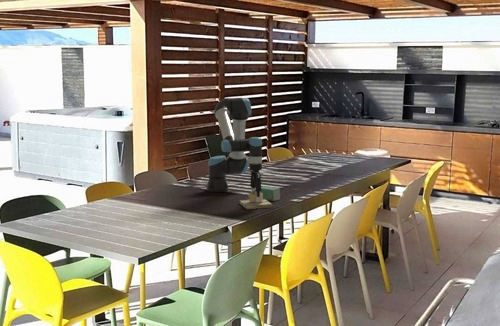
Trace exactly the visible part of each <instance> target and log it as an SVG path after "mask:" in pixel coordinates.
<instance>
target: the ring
mask: <svg viewBox="0 0 500 326" xmlns="http://www.w3.org/2000/svg"><path fill="white" fill-rule="evenodd" d="M248 200H249V201H250V202H255V194H253V192H252V191H251V192H249V193H248ZM261 201H263V193H260V202H261Z"/></svg>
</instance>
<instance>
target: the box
mask: <svg viewBox="0 0 500 326" xmlns="http://www.w3.org/2000/svg"><path fill="white" fill-rule="evenodd" d="M260 193H263V199H266V200H267V201H269V202H270V201H271V202H275V201H280V200H281V188H280V187H275V186H267V185H265V186H264V185H261V191H260Z"/></svg>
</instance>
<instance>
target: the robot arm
mask: <svg viewBox="0 0 500 326" xmlns="http://www.w3.org/2000/svg"><path fill="white" fill-rule="evenodd" d="M214 116H215V119H216V120H217V121H218V125H219V126H218V127H219V129H220V133H221V136H222V139H223V140H221V142H220V143H221V144H220V146H221V151H222V152H223V153H228V157H226V155H216V156H212V157H210V158H209V159H208V180H207V185H206V192H211V193H223V192H228V191H229V185H228V184H229V183H228V182H227V179H226V178H227V176H226V175H242V174H243V175H244V174H246V173H247V171H248V168H249V170H250V184H249V186H250V187H251V193H252V192H253V191H254V190H255V202H260V191H261V187H262V181H261V179H262V175H261V173H260V171H262V169H263V139H262V138H261V137H260V136H252V137H249V138H246V137H245V136H246V121H247V120H248V119H249V116H252V104H251V101H250V99H249V98H248V97H228V98H227V97H226V98H223V99H220V100H219V101H218V102H217V104H216V105H215V108H214ZM231 119H232V121H231ZM245 152H248V153H249V156H248V157H249V158H248V157H247V155H246V153H245Z"/></svg>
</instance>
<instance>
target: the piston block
mask: <svg viewBox="0 0 500 326" xmlns="http://www.w3.org/2000/svg"><path fill="white" fill-rule="evenodd" d="M253 194H255V190H254V191H253ZM239 205H241V206H242V207H243V208H245V210H254V209H256V208H257V209H270V208H273V203H271V202H270V201H269V200H266V199H263V201H261V202H250V201H249V199H242V200H241V199H240V200H239ZM257 209H256V210H257Z"/></svg>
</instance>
